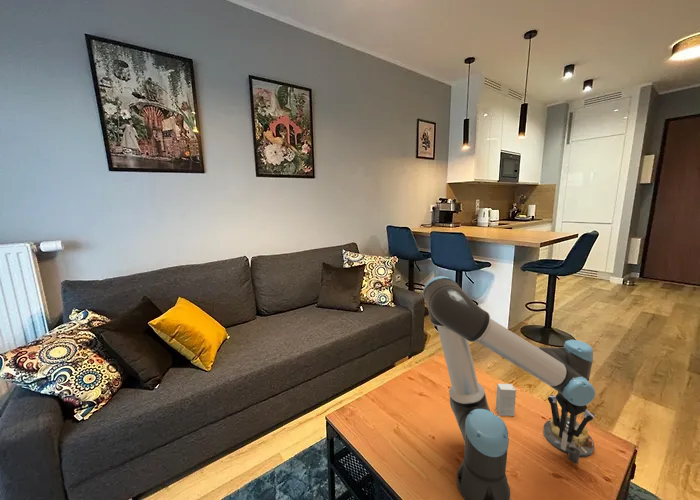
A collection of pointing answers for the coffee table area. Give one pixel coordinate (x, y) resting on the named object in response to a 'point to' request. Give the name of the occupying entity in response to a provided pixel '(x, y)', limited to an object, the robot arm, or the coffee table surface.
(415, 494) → the coffee table surface
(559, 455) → the coffee table surface
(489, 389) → the coffee table surface
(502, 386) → the skincare box
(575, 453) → the ball lever
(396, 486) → the coffee table surface
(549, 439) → the housing
